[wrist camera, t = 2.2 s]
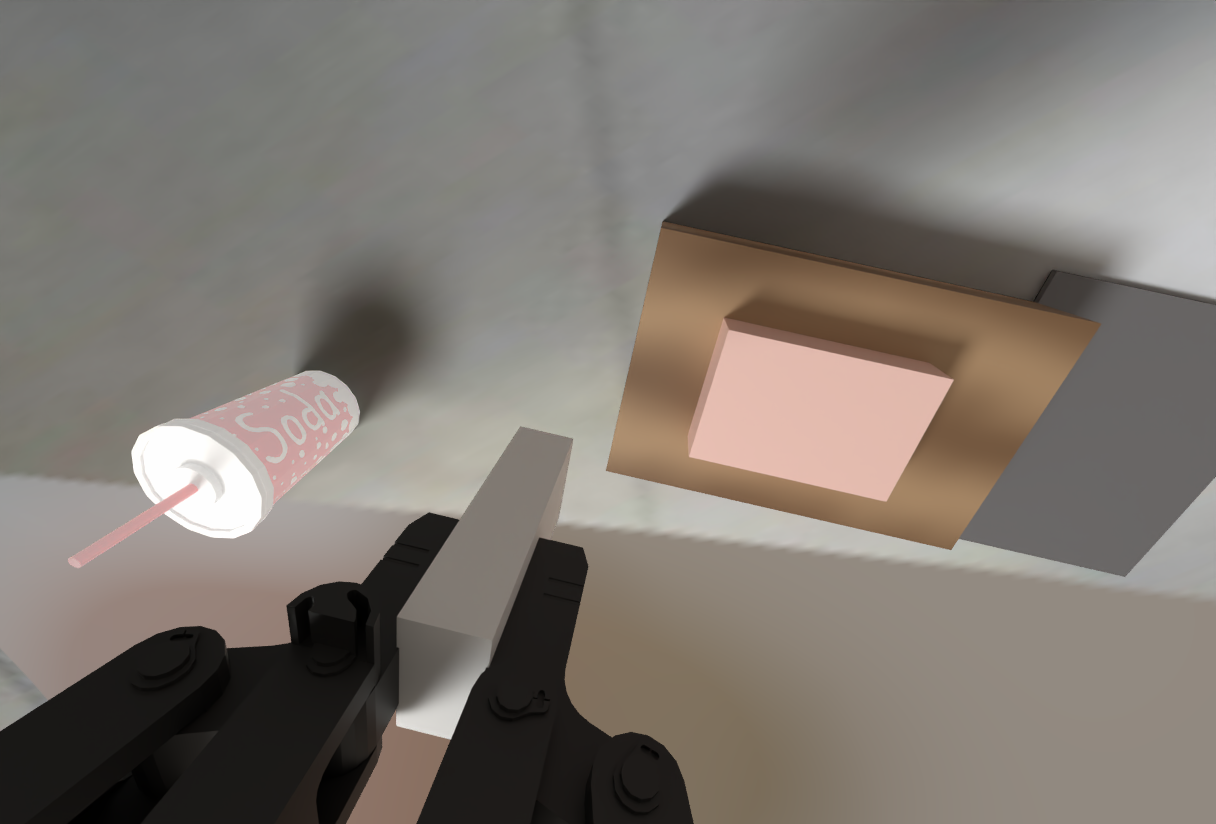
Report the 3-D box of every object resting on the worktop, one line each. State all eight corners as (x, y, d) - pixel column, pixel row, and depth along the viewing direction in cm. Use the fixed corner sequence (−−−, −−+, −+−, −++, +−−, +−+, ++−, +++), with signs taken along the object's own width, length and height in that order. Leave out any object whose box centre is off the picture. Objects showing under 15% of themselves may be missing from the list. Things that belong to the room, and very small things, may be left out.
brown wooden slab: (662, 221, 23) (661, 228, 20) (1033, 301, 23) (1101, 323, 19) (614, 434, 28) (606, 470, 25) (915, 503, 28) (951, 550, 24)
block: (723, 317, 21) (728, 329, 19) (929, 362, 21) (954, 379, 19) (687, 436, 23) (689, 456, 22) (869, 477, 23) (886, 501, 21)
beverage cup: (387, 439, 31) (190, 616, 18) (307, 454, 32) (69, 630, 19) (343, 348, 28) (80, 480, 16) (258, 368, 29) (-49, 505, 17)
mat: (1052, 269, 22) (1057, 271, 22) (1337, 331, 22) (1345, 333, 22) (903, 523, 29) (905, 526, 28) (1120, 573, 28) (1124, 576, 28)
